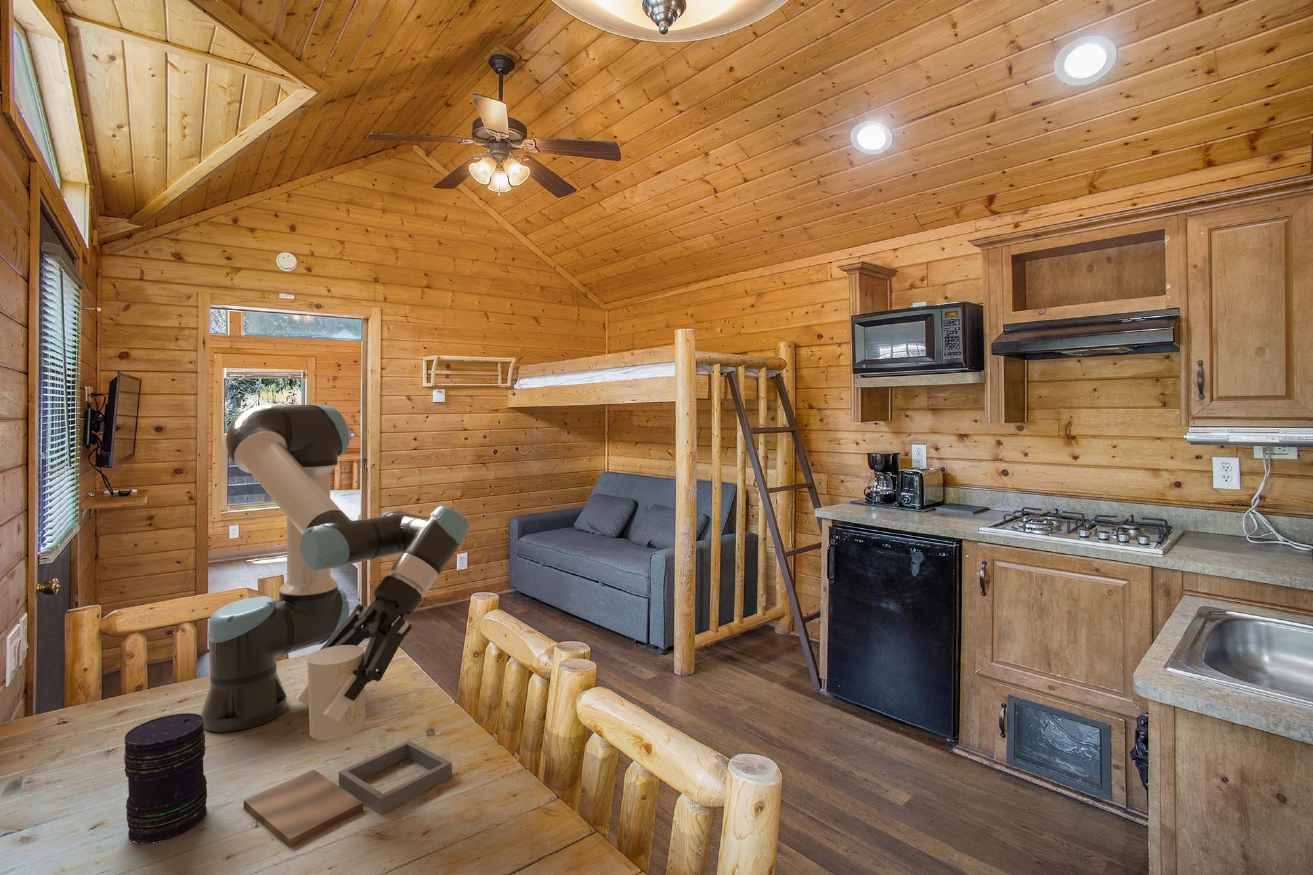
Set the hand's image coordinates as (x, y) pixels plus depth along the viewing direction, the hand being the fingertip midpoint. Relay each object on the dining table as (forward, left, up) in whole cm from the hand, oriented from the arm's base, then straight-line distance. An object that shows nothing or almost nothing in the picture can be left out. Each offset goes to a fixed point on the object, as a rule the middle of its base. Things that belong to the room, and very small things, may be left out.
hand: (316, 709), depth 102 cm
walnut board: (-2, -1, -16) cm, 16 cm away
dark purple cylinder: (-15, -15, -16) cm, 27 cm away
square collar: (+3, +12, -16) cm, 20 cm away
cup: (0, +3, -4) cm, 6 cm away
